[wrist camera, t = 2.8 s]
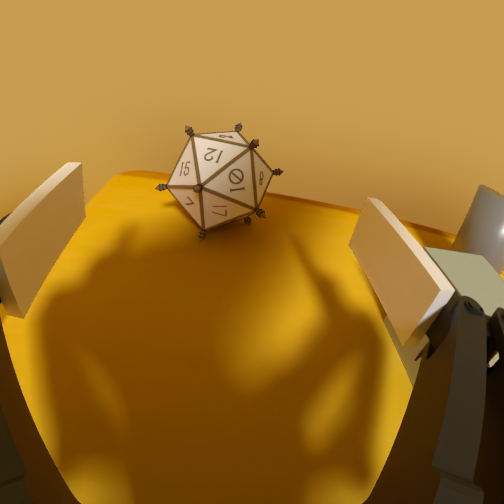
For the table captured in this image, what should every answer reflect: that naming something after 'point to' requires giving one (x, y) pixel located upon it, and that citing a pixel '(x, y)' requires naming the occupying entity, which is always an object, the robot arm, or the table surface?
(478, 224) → the gray cylinder
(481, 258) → the olive block
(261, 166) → the game die
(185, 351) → the table surface
